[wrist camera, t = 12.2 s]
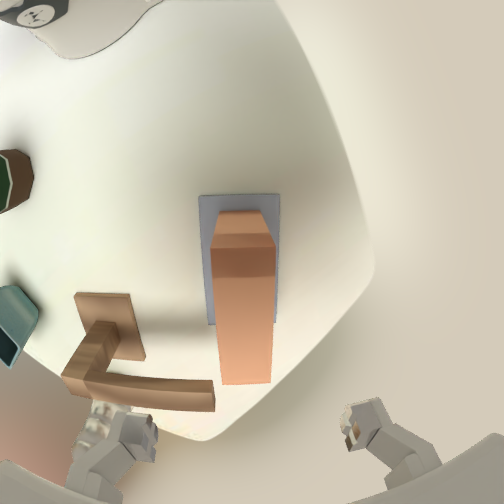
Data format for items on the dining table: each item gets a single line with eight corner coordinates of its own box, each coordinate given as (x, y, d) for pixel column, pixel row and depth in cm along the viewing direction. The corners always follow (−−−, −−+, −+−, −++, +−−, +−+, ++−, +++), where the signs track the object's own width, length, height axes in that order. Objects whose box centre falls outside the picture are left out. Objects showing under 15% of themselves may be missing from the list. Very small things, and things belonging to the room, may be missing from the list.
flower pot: (35, 338, 32) (10, 371, 24) (2, 300, 29) (-27, 327, 21) (52, 312, 30) (21, 349, 22) (15, 269, 28) (-22, 297, 19)
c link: (219, 211, 27) (210, 248, 16) (259, 210, 27) (275, 246, 17) (224, 314, 31) (222, 384, 21) (259, 313, 31) (270, 383, 21)
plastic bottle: (121, 367, 34) (80, 480, 15) (146, 395, 36) (120, 503, 18) (93, 373, 35) (50, 472, 16) (118, 399, 37) (88, 495, 18)
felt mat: (199, 195, 27) (198, 196, 26) (278, 194, 27) (279, 195, 26) (208, 322, 32) (208, 325, 31) (275, 320, 32) (275, 322, 32)
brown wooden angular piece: (76, 292, 29) (30, 345, 19) (214, 294, 31) (207, 365, 20) (97, 352, 33) (67, 409, 22) (220, 358, 34) (218, 429, 23)
